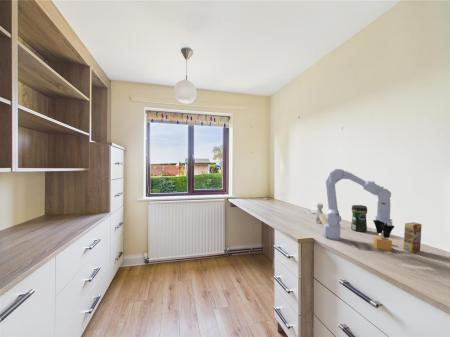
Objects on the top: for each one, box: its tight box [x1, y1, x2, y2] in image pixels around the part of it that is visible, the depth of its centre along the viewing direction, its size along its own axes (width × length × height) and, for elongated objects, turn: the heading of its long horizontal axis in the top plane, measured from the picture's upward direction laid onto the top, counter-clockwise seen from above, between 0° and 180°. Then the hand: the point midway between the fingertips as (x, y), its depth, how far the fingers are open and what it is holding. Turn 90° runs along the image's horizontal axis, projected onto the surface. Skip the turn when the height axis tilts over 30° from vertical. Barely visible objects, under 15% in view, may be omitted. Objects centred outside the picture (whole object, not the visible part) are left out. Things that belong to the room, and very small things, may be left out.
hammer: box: [315, 202, 328, 227], centre depth 160 cm, size 16×5×30 cm
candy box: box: [402, 222, 423, 254], centre depth 117 cm, size 9×4×15 cm, turn 115°
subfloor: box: [349, 240, 402, 256], centre depth 118 cm, size 20×19×1 cm
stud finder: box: [373, 236, 393, 250], centre depth 117 cm, size 7×4×5 cm, turn 76°
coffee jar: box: [350, 204, 368, 232], centre depth 155 cm, size 10×8×19 cm
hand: (382, 235), depth 117 cm, fingers open, 7 cm apart
